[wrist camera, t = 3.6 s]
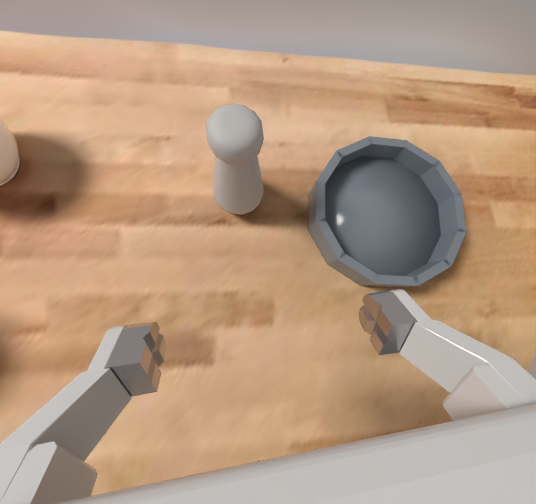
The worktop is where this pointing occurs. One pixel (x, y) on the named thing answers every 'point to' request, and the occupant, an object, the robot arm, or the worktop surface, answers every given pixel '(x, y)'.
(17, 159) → the lidded jar
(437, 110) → the worktop surface
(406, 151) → the bowl
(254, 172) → the salt shaker
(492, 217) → the worktop surface
